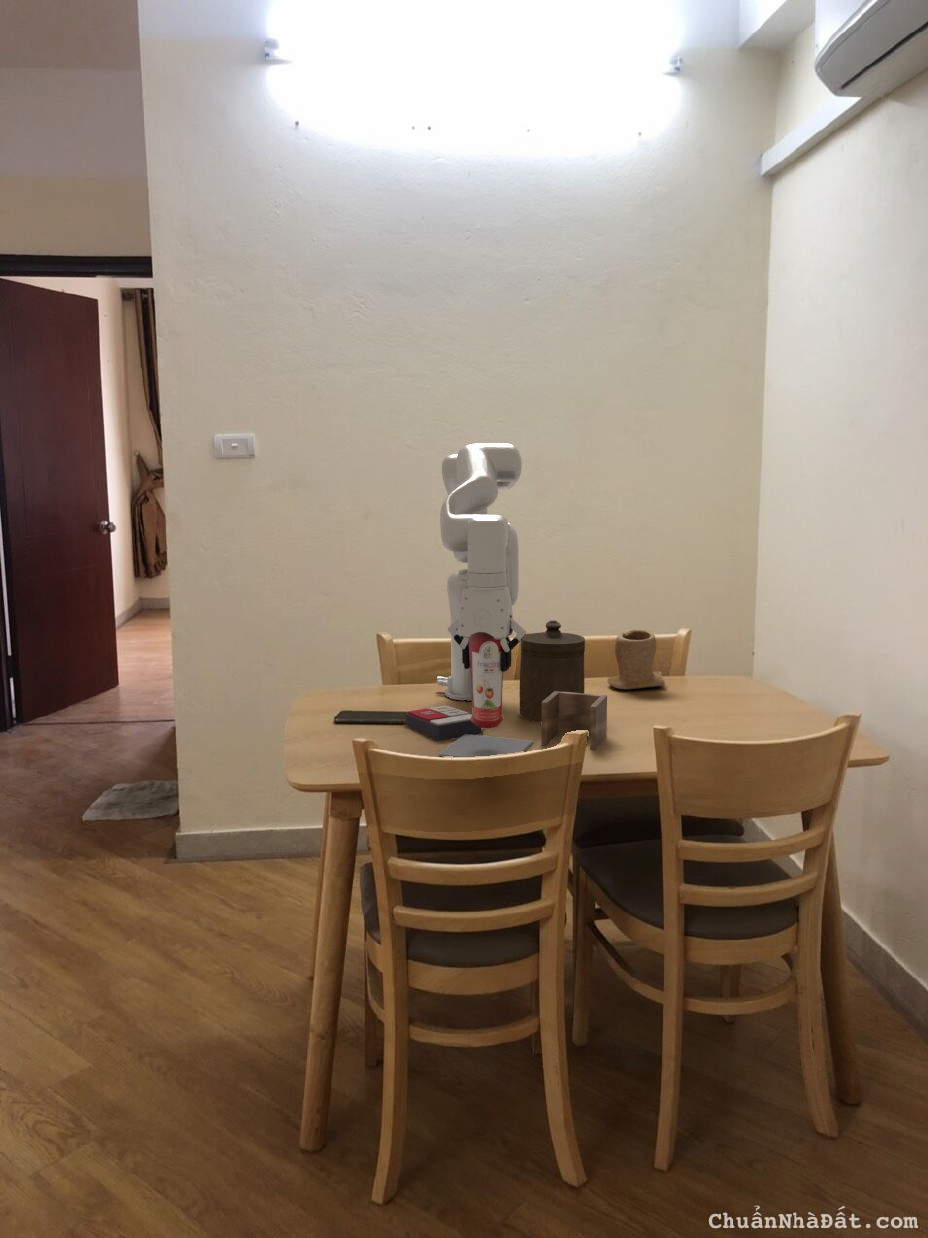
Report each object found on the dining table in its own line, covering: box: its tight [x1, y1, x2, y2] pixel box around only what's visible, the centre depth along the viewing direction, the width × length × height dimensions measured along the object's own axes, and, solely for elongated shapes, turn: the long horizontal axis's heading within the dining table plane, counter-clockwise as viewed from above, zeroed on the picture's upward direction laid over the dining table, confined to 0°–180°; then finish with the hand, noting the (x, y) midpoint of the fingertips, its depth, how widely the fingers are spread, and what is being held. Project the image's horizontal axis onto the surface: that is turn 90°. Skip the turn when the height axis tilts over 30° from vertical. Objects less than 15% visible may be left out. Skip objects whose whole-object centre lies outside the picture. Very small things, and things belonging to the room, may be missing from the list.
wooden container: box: [519, 619, 586, 723], centre depth 220 cm, size 15×15×22 cm
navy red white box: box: [404, 705, 483, 742], centre depth 210 cm, size 11×4×15 cm
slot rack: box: [540, 691, 608, 751], centre depth 201 cm, size 11×10×9 cm
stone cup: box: [606, 629, 666, 690], centre depth 246 cm, size 15×12×15 cm
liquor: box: [468, 632, 505, 729], centre depth 192 cm, size 7×7×28 cm
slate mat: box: [438, 734, 534, 757], centre depth 195 cm, size 15×15×1 cm
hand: (486, 668), depth 192 cm, fingers closed on liquor, 7 cm apart
